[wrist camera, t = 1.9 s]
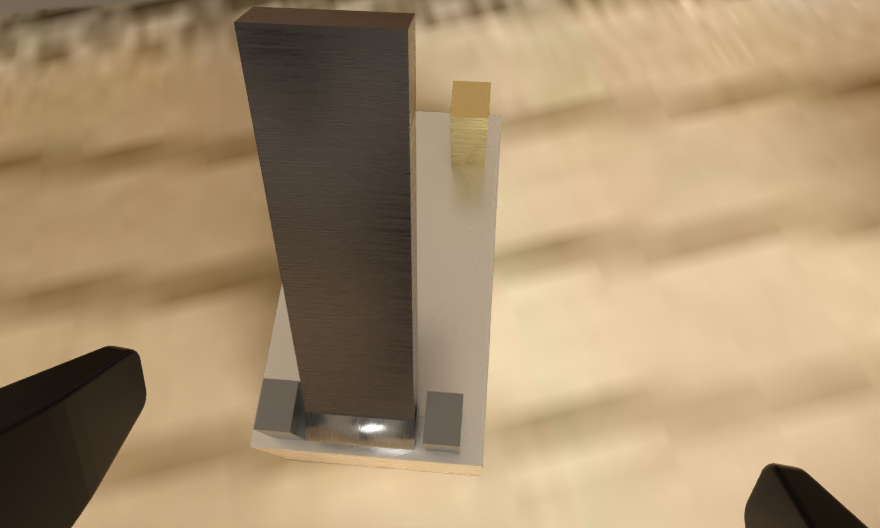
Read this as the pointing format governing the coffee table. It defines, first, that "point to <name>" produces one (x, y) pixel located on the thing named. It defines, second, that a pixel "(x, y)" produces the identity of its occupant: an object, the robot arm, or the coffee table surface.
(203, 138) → the coffee table surface
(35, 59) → the coffee table surface
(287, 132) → the block
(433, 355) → the white box with posts
